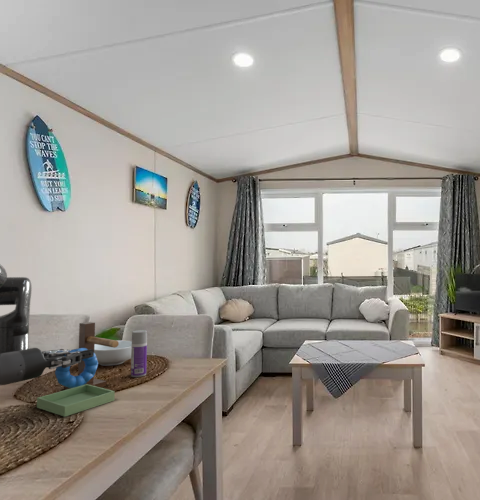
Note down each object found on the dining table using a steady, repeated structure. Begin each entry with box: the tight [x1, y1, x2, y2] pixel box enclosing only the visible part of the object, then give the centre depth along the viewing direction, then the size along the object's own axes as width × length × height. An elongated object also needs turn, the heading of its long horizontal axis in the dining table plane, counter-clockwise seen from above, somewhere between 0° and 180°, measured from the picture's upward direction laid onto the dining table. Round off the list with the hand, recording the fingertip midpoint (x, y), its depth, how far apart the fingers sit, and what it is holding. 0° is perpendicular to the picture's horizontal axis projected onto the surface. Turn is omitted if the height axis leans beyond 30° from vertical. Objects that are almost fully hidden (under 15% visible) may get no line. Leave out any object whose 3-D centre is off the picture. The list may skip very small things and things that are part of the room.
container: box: [130, 329, 148, 378], centre depth 135 cm, size 5×5×15 cm
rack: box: [63, 321, 119, 390], centre depth 120 cm, size 18×8×20 cm, turn 64°
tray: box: [36, 384, 116, 418], centre depth 108 cm, size 13×13×3 cm
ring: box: [54, 347, 99, 388], centre depth 108 cm, size 3×11×10 cm, turn 154°
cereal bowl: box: [94, 339, 132, 367], centre depth 149 cm, size 17×17×7 cm
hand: (88, 352), depth 111 cm, fingers closed on ring, 3 cm apart
